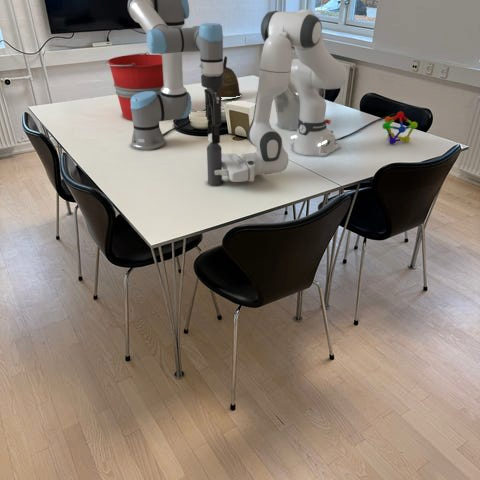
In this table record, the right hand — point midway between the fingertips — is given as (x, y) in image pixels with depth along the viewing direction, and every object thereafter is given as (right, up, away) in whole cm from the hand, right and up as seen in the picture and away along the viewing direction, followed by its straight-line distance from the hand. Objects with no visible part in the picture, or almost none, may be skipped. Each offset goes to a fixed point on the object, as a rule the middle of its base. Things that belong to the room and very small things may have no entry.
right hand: (212, 168), depth 168 cm
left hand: (+1, +10, -6) cm, 11 cm away
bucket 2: (+40, +34, +65) cm, 84 cm away
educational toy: (+85, +19, +43) cm, 97 cm away
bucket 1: (-43, +43, +81) cm, 101 cm away
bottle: (+1, -5, +3) cm, 6 cm away
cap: (+1, +11, -7) cm, 13 cm away
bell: (+2, +64, +114) cm, 130 cm away
